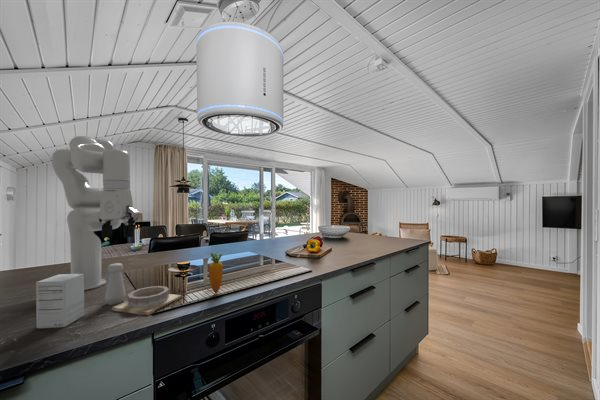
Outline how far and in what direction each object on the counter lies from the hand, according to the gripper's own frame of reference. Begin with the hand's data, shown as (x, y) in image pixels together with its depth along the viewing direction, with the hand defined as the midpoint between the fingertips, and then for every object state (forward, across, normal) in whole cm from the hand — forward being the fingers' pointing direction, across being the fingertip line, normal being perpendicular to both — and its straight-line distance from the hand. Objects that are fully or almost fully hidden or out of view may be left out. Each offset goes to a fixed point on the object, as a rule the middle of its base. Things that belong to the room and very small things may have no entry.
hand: (117, 237), depth 86 cm
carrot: (+23, +27, +16) cm, 39 cm away
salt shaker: (+22, -1, 0) cm, 22 cm away
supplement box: (+22, -2, -15) cm, 27 cm away
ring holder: (+22, +11, +2) cm, 25 cm away
